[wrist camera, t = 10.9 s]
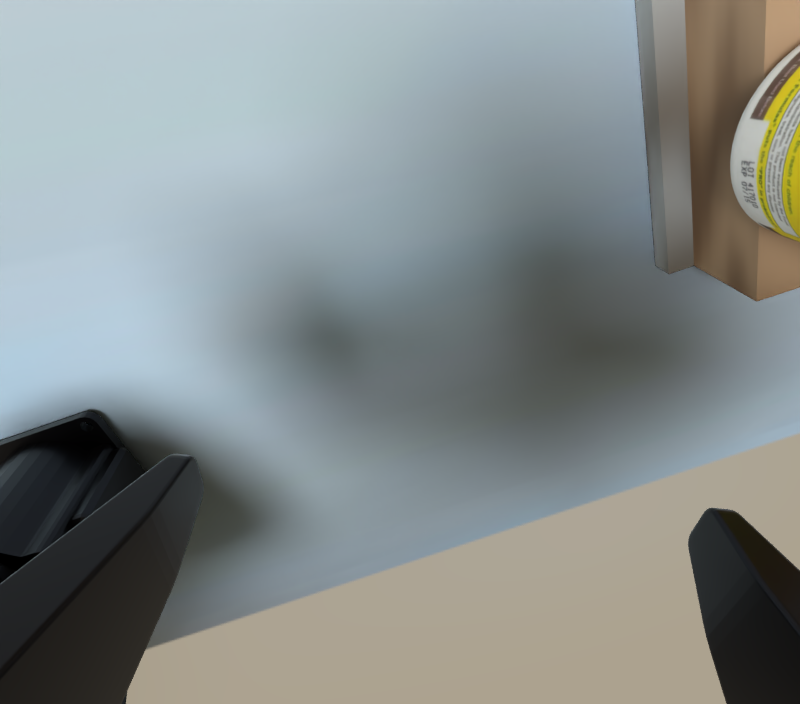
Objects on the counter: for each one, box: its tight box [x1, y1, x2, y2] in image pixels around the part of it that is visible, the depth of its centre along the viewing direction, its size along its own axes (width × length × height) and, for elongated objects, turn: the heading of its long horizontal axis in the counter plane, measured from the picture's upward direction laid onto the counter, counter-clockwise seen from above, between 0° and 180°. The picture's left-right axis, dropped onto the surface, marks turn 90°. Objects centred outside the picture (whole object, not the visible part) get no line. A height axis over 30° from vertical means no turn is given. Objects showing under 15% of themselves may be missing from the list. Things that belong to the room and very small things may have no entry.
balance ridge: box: [635, 0, 800, 301], centre depth 16 cm, size 10×6×4 cm, turn 18°
